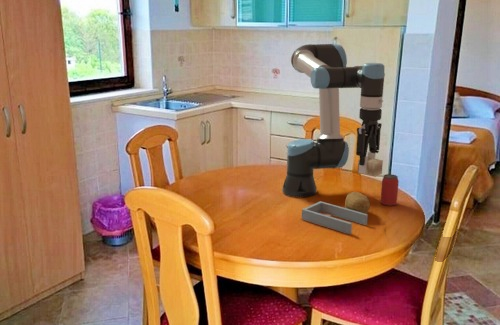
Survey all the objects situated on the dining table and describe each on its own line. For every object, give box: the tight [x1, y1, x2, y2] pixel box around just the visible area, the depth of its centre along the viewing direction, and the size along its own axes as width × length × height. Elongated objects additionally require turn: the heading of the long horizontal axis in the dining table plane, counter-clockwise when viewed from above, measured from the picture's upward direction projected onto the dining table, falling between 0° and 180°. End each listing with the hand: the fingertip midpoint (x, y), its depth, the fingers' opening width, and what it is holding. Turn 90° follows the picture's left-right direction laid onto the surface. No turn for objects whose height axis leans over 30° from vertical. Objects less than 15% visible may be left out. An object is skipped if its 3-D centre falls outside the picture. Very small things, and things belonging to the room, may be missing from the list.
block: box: [357, 158, 384, 178], centre depth 178 cm, size 5×5×7 cm
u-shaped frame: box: [301, 200, 368, 235], centre depth 187 cm, size 21×12×4 cm, turn 48°
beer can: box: [380, 173, 399, 207], centre depth 205 cm, size 7×7×12 cm
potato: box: [344, 191, 371, 214], centre depth 195 cm, size 10×14×8 cm
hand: (366, 171), depth 180 cm, fingers closed on block, 5 cm apart
